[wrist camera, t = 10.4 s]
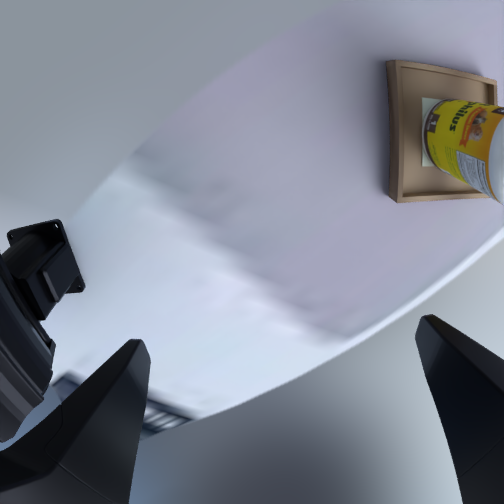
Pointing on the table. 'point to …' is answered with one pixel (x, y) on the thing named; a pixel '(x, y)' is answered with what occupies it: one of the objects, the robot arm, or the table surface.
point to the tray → (411, 121)
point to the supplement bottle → (467, 143)
